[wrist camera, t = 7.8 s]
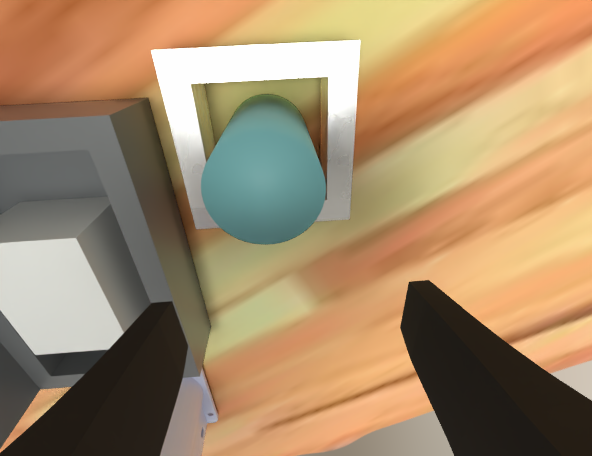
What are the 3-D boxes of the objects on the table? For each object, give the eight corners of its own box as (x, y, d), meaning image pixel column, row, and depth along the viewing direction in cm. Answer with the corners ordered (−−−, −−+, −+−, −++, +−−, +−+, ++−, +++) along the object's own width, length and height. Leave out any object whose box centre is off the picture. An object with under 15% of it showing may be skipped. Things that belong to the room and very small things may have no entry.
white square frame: (340, 198, 18) (349, 219, 16) (205, 206, 18) (195, 229, 16) (346, 40, 14) (360, 39, 12) (170, 48, 14) (150, 50, 11)
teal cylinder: (310, 167, 17) (329, 236, 11) (238, 177, 17) (218, 251, 11) (302, 88, 15) (321, 121, 9) (220, 100, 15) (183, 140, 9)
